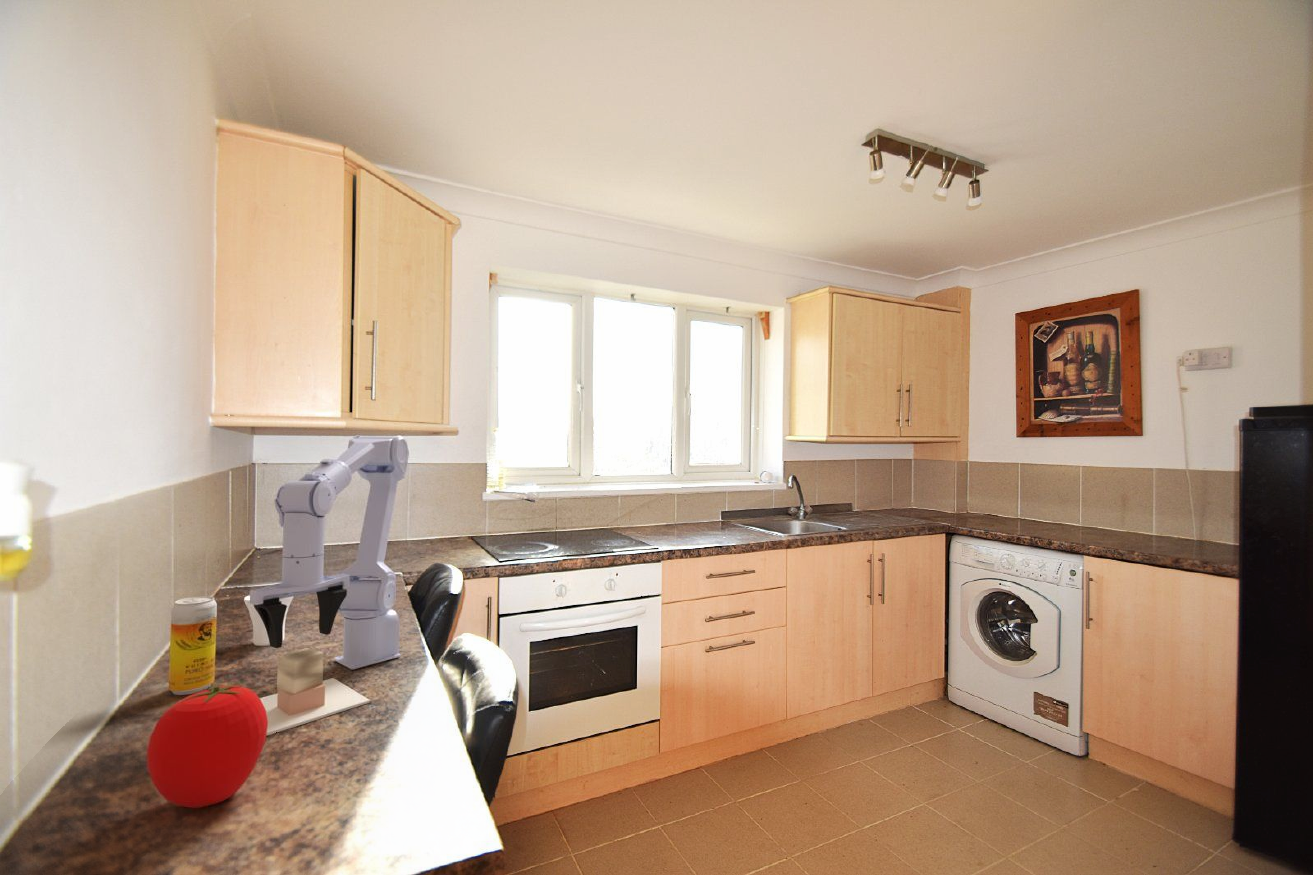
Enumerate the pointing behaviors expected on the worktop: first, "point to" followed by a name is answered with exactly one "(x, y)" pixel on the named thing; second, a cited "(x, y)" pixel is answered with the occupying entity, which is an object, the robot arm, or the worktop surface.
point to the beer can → (192, 645)
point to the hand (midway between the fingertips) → (301, 639)
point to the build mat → (335, 702)
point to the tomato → (207, 745)
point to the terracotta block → (301, 700)
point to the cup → (258, 626)
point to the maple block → (300, 670)
